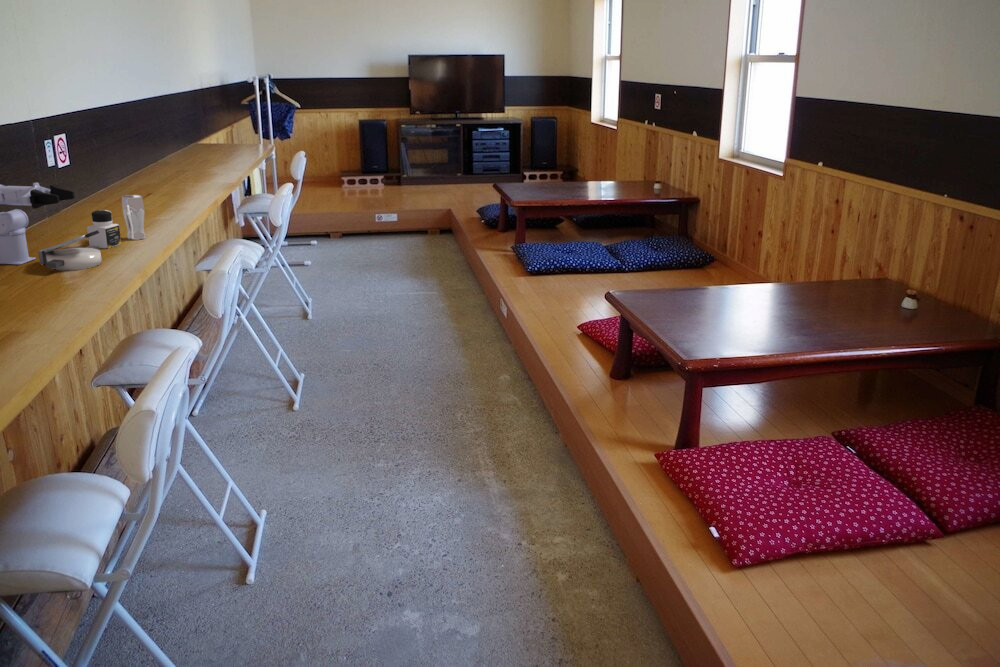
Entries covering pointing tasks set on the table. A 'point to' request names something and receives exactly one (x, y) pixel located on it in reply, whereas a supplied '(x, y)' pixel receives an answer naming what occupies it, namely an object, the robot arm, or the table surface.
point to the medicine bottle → (104, 230)
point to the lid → (70, 241)
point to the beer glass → (134, 216)
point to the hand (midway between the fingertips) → (66, 197)
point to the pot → (71, 258)
